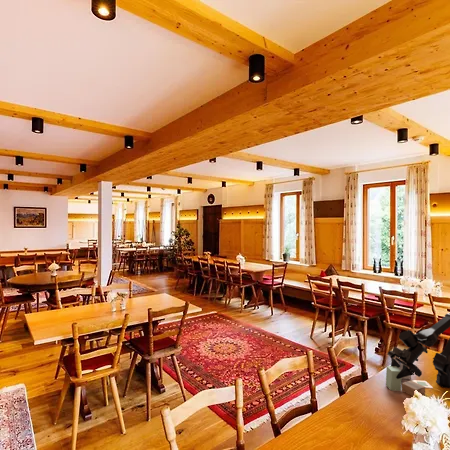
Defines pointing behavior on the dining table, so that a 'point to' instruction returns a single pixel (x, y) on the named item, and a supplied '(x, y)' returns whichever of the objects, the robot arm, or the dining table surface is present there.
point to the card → (423, 383)
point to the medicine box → (401, 369)
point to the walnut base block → (412, 388)
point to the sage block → (393, 378)
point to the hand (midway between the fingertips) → (392, 375)
